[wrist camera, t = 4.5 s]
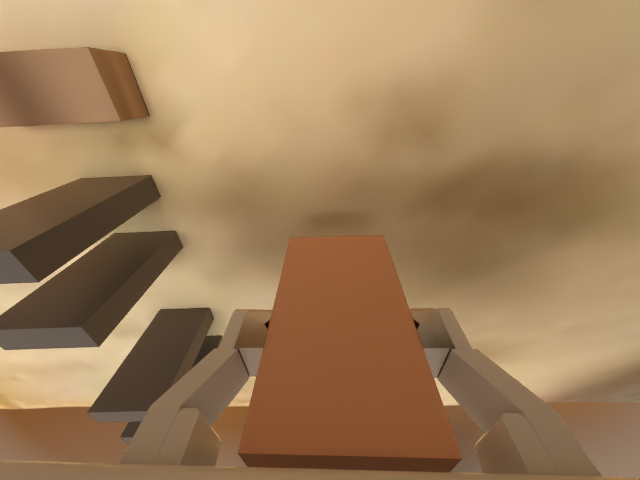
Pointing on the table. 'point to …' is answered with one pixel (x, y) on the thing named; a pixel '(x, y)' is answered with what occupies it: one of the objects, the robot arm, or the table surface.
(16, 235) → the domino
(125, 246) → the domino
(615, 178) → the table surface
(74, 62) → the stop block
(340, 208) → the table surface
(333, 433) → the domino
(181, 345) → the domino
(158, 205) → the table surface
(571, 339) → the table surface
